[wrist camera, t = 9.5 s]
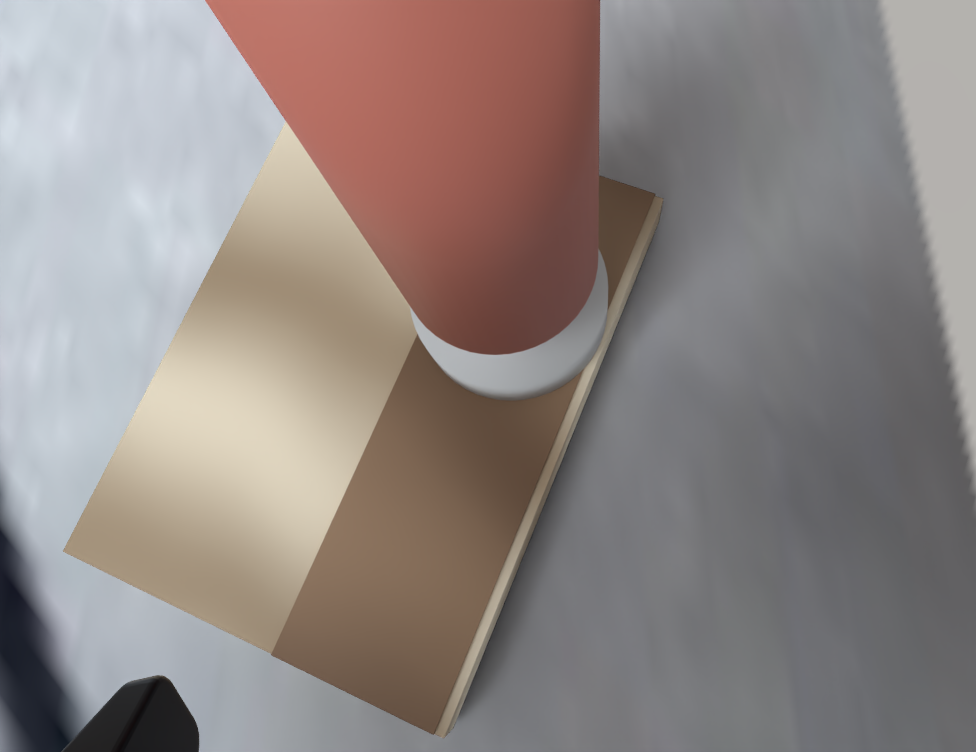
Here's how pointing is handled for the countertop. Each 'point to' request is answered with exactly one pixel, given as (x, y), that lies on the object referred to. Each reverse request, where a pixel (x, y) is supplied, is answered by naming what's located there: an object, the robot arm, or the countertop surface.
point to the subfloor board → (337, 457)
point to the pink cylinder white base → (456, 164)
